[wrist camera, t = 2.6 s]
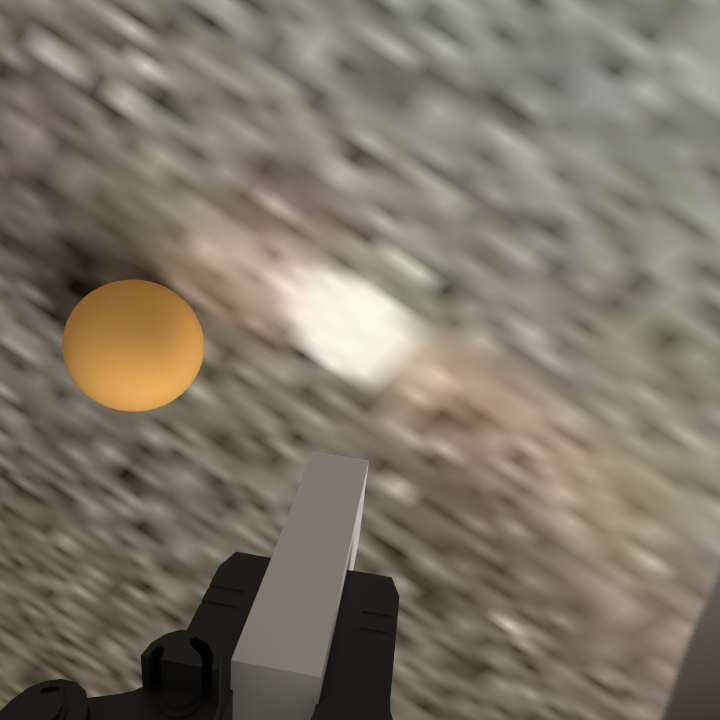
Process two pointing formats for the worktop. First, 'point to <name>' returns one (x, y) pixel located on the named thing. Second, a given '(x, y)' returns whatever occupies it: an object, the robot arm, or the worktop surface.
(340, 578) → the robot arm
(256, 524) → the worktop surface
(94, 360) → the ball
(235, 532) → the worktop surface
